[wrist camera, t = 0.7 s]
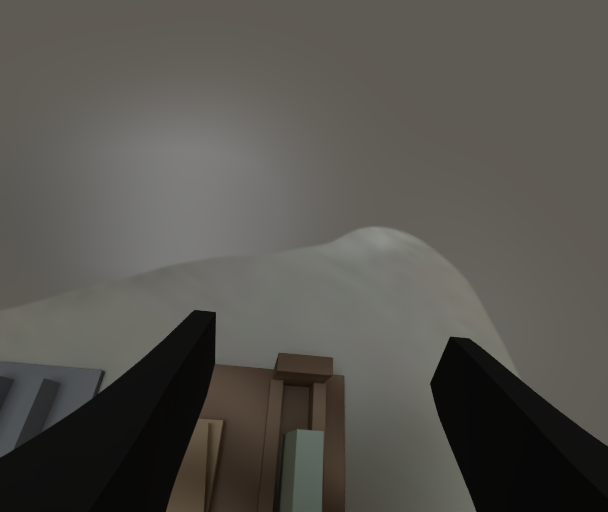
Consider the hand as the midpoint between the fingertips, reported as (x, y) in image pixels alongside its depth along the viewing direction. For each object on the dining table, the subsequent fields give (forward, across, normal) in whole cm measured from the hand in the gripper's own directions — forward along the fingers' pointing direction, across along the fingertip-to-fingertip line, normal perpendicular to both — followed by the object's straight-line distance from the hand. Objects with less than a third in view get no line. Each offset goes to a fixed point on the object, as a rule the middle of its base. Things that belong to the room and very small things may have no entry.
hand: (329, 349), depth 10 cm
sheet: (+4, 0, +15) cm, 15 cm away
